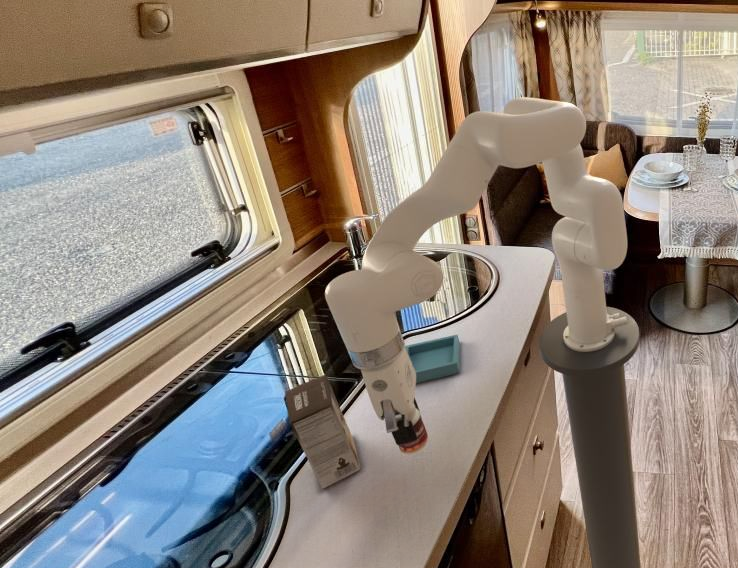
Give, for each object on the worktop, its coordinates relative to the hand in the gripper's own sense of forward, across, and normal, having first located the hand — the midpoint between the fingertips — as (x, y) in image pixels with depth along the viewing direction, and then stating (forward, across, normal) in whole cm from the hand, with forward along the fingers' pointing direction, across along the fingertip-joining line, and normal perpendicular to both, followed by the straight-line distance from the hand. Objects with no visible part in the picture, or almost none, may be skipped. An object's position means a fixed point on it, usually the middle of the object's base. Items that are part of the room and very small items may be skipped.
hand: (408, 427), depth 85 cm
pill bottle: (+4, 0, 0) cm, 4 cm away
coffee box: (+9, +6, +15) cm, 18 cm away
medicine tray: (+9, +28, 0) cm, 29 cm away
